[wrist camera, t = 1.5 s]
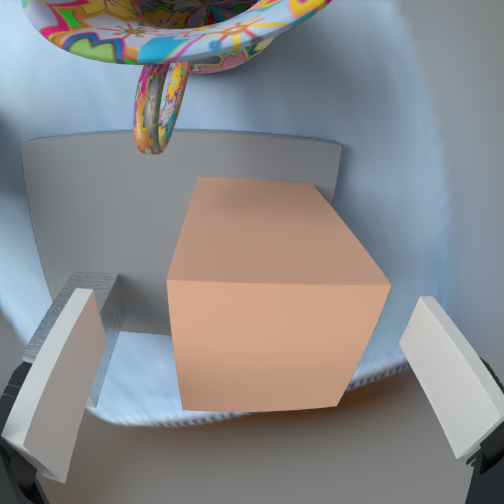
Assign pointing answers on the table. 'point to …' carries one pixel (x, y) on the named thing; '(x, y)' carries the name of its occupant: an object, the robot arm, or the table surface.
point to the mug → (166, 43)
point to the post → (110, 314)
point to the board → (146, 201)
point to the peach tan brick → (268, 298)
